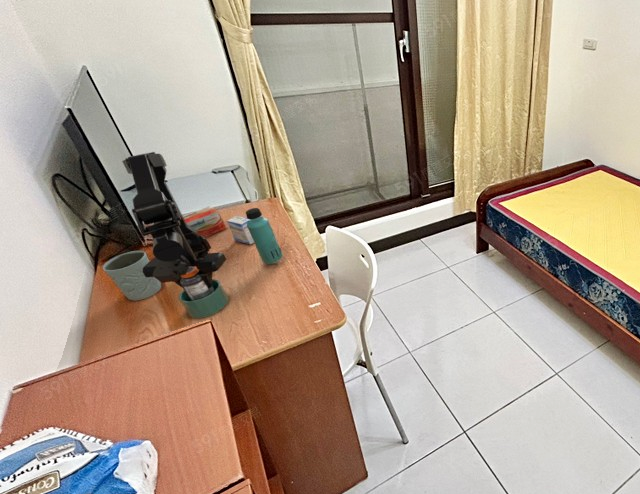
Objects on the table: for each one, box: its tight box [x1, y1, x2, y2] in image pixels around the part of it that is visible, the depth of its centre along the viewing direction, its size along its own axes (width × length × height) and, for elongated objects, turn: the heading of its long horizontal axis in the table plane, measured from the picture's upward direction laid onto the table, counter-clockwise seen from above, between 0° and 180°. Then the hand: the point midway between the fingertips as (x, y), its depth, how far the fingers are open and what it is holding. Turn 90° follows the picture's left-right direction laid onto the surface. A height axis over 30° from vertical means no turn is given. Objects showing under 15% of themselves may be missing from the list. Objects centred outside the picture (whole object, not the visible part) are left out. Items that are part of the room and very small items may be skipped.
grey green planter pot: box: [102, 250, 162, 302], centre depth 121 cm, size 10×10×12 cm
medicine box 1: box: [183, 205, 227, 238], centre depth 150 cm, size 15×8×8 cm, turn 142°
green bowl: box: [178, 278, 229, 319], centre depth 115 cm, size 10×10×6 cm
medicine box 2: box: [226, 215, 255, 245], centre depth 145 cm, size 8×4×9 cm, turn 68°
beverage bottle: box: [245, 207, 283, 265], centre depth 129 cm, size 6×7×20 cm
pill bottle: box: [180, 267, 215, 301], centre depth 113 cm, size 6×6×11 cm
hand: (198, 288), depth 114 cm, fingers closed on pill bottle, 6 cm apart
